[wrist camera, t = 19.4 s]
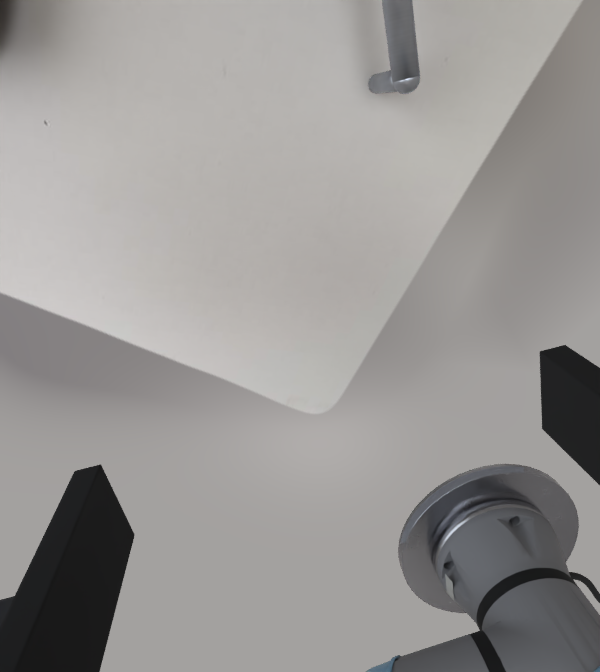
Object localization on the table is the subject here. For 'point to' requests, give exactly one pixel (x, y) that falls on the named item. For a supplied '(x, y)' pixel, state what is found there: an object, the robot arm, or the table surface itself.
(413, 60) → the ladle
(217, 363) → the table surface
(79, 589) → the robot arm
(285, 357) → the table surface
